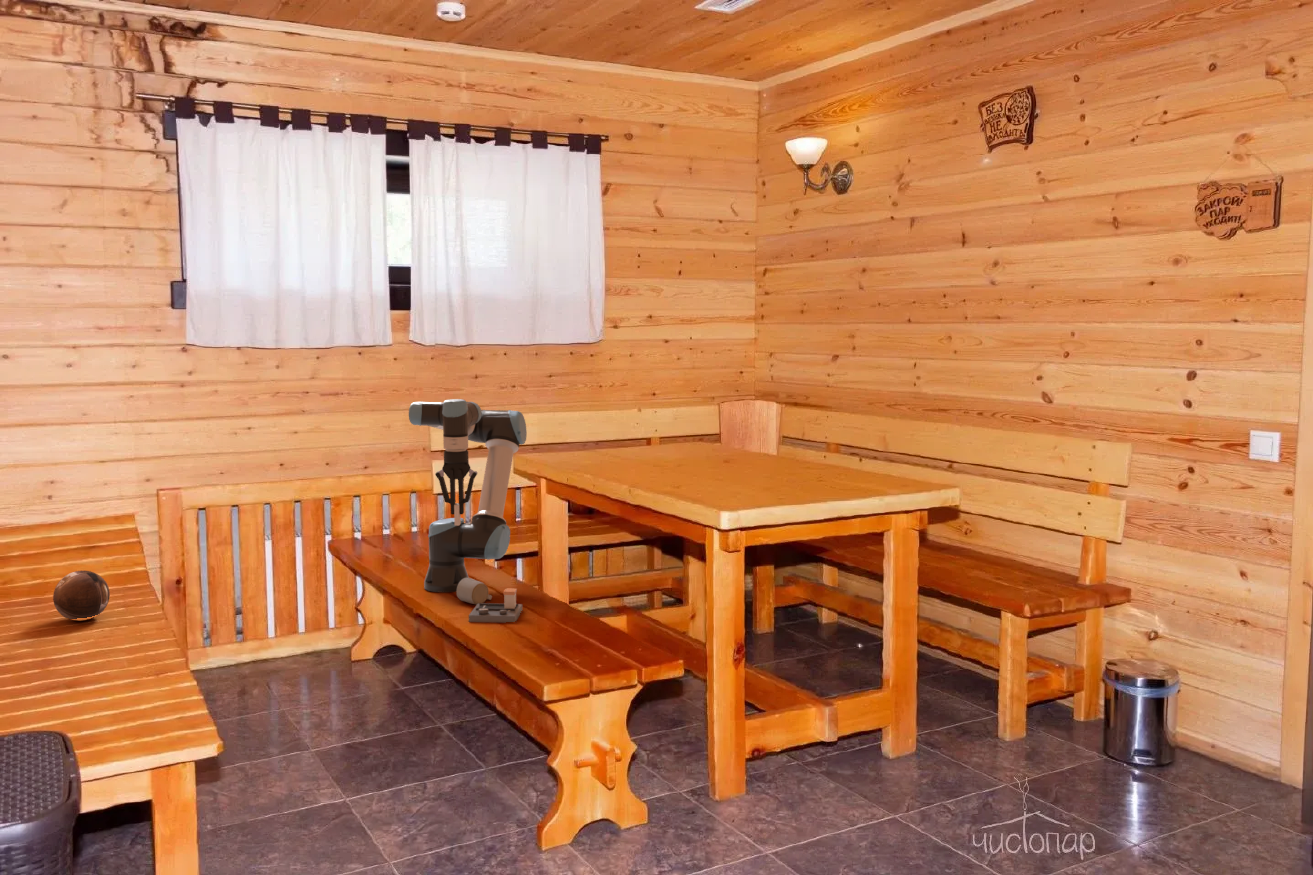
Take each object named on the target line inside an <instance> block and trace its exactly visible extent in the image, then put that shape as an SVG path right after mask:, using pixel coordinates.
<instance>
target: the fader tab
mask: <svg viewBox="0 0 1313 875" xmlns="http://www.w3.org/2000/svg"><path fill="white" fill-rule="evenodd" d="M517 590H518V588H513V587H512V588H511V587H510V588H508V587H507V588H505V589H504V590H503V593H502V594H503V596H504V598H503V599H504V600H503V601H504V602H503V604H504V608H513V609H514V608H515V607H516V604H517Z"/></svg>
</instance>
